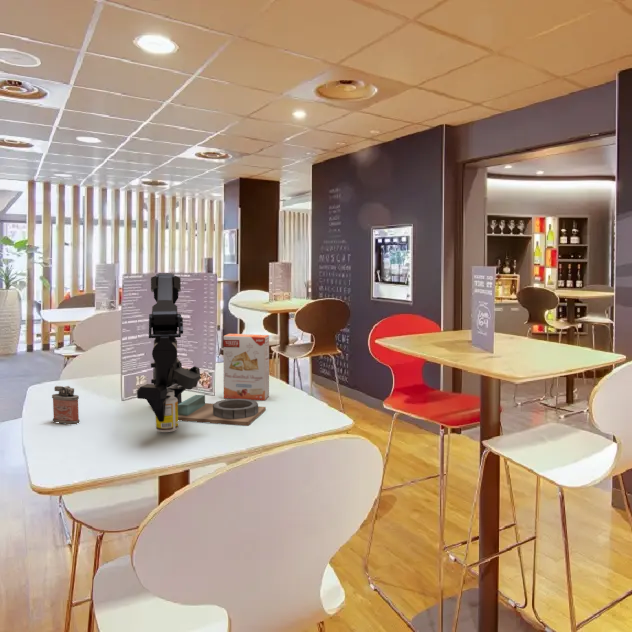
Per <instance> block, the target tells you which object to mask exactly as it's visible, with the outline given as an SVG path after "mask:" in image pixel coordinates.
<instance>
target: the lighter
mask: <svg viewBox="0 0 632 632" xmlns="http://www.w3.org/2000/svg"><path fill="white" fill-rule="evenodd" d="M53 390H54V392H58V393H53V394H52V395H51V398H52V408H53V409H52V411H53V413H52V414H53V418H52V422H53V421H54V422H59V423H66V424H76V425H78V424H77V423H79V422H80V419H79V418H80V416H79V395H77V394H75V388H73V387H71V386H70V385H66V386H63V385H62V386H61V385H56V386H54V389H53ZM54 422H53V423H54ZM66 424H65V425H66ZM79 424H80V423H79Z"/></svg>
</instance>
